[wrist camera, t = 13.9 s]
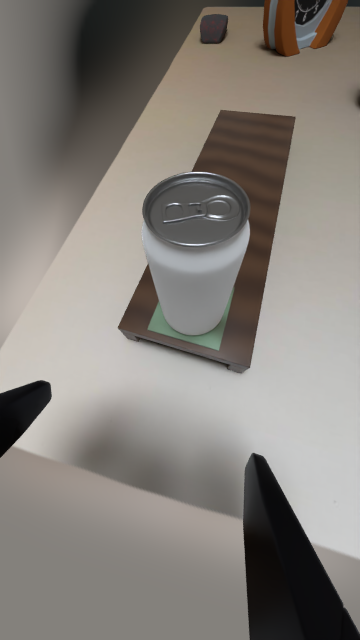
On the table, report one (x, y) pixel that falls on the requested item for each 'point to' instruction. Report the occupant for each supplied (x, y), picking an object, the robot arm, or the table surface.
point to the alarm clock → (300, 23)
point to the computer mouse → (213, 28)
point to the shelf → (246, 297)
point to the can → (195, 246)
